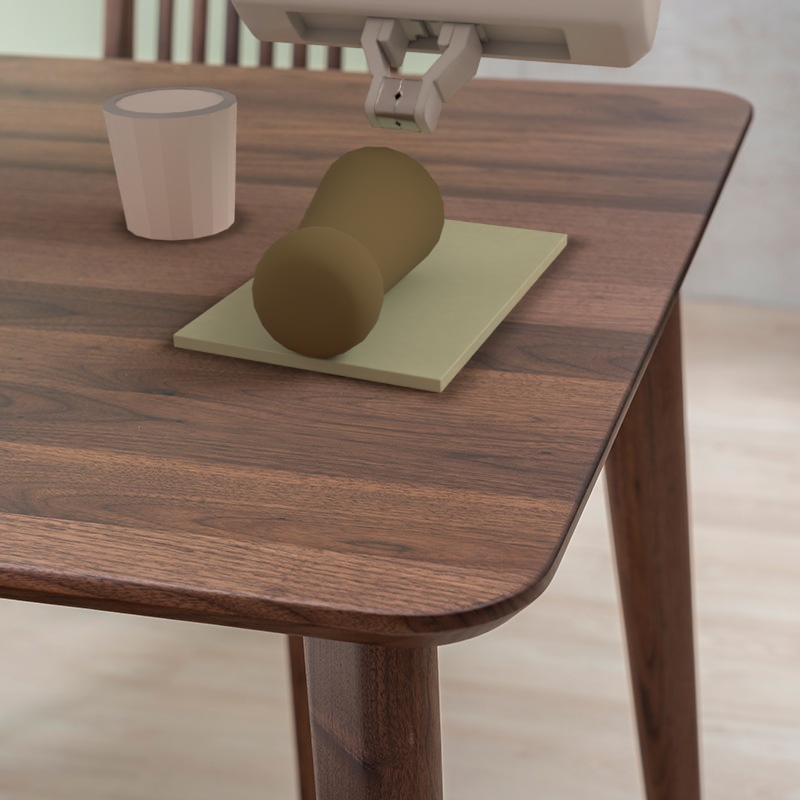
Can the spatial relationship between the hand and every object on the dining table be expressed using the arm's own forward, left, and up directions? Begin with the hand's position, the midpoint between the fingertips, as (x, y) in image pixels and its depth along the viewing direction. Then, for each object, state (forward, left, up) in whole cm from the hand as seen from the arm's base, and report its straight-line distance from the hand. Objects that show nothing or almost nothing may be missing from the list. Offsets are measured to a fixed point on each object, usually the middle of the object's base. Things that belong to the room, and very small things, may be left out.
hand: (397, 124), depth 56 cm
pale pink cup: (-14, -5, -8) cm, 17 cm away
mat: (+1, -1, -8) cm, 8 cm away
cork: (0, -1, -4) cm, 4 cm away
